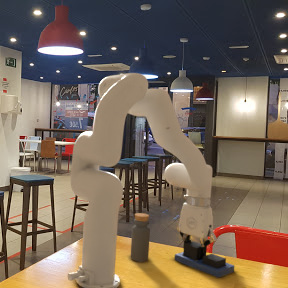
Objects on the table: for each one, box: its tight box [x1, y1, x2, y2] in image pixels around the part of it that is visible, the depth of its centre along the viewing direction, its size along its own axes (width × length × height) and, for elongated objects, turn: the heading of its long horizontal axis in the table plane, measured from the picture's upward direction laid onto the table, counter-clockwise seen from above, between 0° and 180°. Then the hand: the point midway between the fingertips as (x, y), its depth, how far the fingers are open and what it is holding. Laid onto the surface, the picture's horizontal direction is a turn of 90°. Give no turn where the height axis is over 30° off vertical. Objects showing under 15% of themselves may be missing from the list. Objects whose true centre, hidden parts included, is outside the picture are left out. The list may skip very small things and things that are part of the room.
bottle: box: [130, 212, 151, 263], centre depth 126 cm, size 6×6×15 cm
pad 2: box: [203, 253, 227, 269], centre depth 120 cm, size 5×5×4 cm
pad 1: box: [183, 240, 201, 261], centre depth 125 cm, size 5×5×4 cm
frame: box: [174, 251, 235, 279], centre depth 123 cm, size 9×16×2 cm, turn 37°
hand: (194, 254), depth 125 cm, fingers closed on pad 1, 4 cm apart
